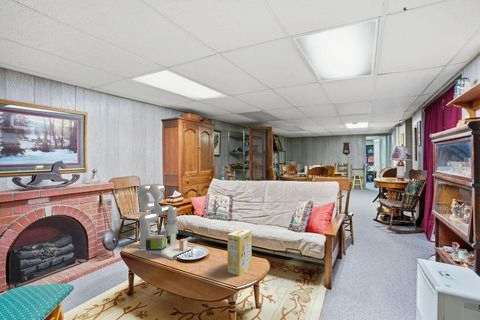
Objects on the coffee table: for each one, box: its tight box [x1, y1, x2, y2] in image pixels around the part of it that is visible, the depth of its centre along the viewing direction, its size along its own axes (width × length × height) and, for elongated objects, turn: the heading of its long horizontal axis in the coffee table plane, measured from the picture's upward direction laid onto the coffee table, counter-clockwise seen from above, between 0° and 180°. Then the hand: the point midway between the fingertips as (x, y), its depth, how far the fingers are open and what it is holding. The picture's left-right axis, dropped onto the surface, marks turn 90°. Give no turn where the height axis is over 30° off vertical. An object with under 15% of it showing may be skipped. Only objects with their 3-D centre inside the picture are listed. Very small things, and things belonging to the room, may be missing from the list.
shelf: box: [160, 243, 192, 261], centre depth 204 cm, size 17×20×4 cm
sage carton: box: [166, 234, 177, 247], centre depth 199 cm, size 5×5×9 cm
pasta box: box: [226, 227, 253, 277], centre depth 176 cm, size 18×10×28 cm, turn 149°
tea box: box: [145, 234, 167, 256], centre depth 208 cm, size 15×10×15 cm
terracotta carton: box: [178, 238, 188, 251], centre depth 209 cm, size 5×5×9 cm
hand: (171, 242), depth 199 cm, fingers closed on sage carton, 5 cm apart
